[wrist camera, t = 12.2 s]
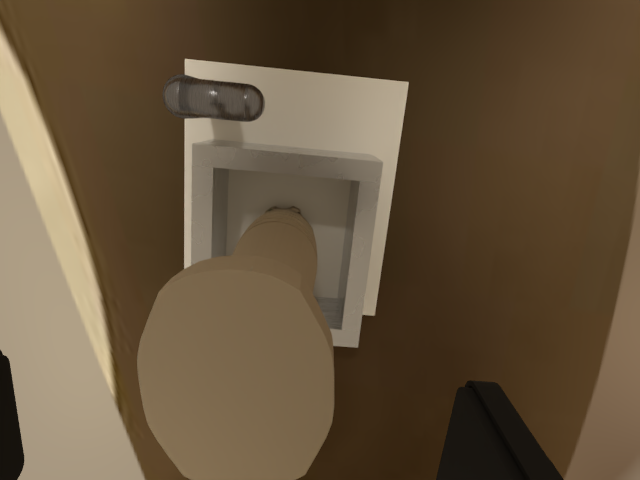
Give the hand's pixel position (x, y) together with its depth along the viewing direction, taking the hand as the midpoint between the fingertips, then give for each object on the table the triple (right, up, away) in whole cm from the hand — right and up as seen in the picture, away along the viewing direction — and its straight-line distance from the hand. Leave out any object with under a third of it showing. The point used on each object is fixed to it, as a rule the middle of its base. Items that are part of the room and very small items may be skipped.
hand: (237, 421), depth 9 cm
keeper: (0, +6, +16) cm, 18 cm away
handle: (0, +4, +16) cm, 17 cm away
